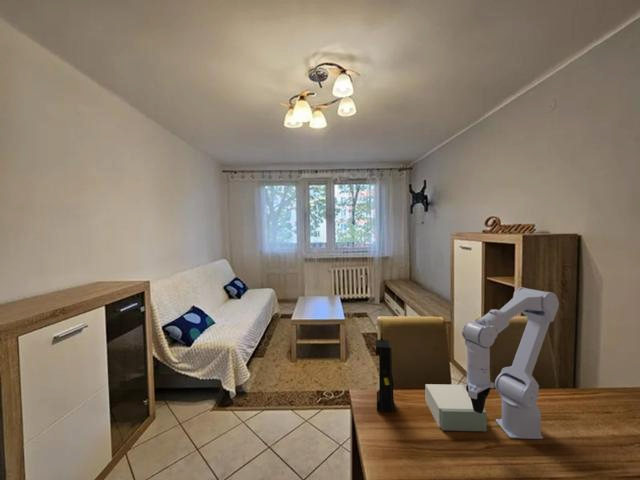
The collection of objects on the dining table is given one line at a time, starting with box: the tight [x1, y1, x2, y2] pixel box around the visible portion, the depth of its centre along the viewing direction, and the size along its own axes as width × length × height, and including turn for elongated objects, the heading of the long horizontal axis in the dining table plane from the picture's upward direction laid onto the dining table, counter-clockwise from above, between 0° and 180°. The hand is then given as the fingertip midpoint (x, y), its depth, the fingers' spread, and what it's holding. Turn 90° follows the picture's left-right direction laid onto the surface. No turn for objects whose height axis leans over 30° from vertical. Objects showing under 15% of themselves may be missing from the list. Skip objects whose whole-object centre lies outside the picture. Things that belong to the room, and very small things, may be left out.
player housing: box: [424, 383, 486, 429], centre depth 95 cm, size 14×14×6 cm
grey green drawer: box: [440, 409, 488, 432], centre depth 93 cm, size 13×13×6 cm
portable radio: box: [375, 332, 395, 413], centre depth 99 cm, size 8×6×25 cm
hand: (478, 411), depth 81 cm, fingers closed
